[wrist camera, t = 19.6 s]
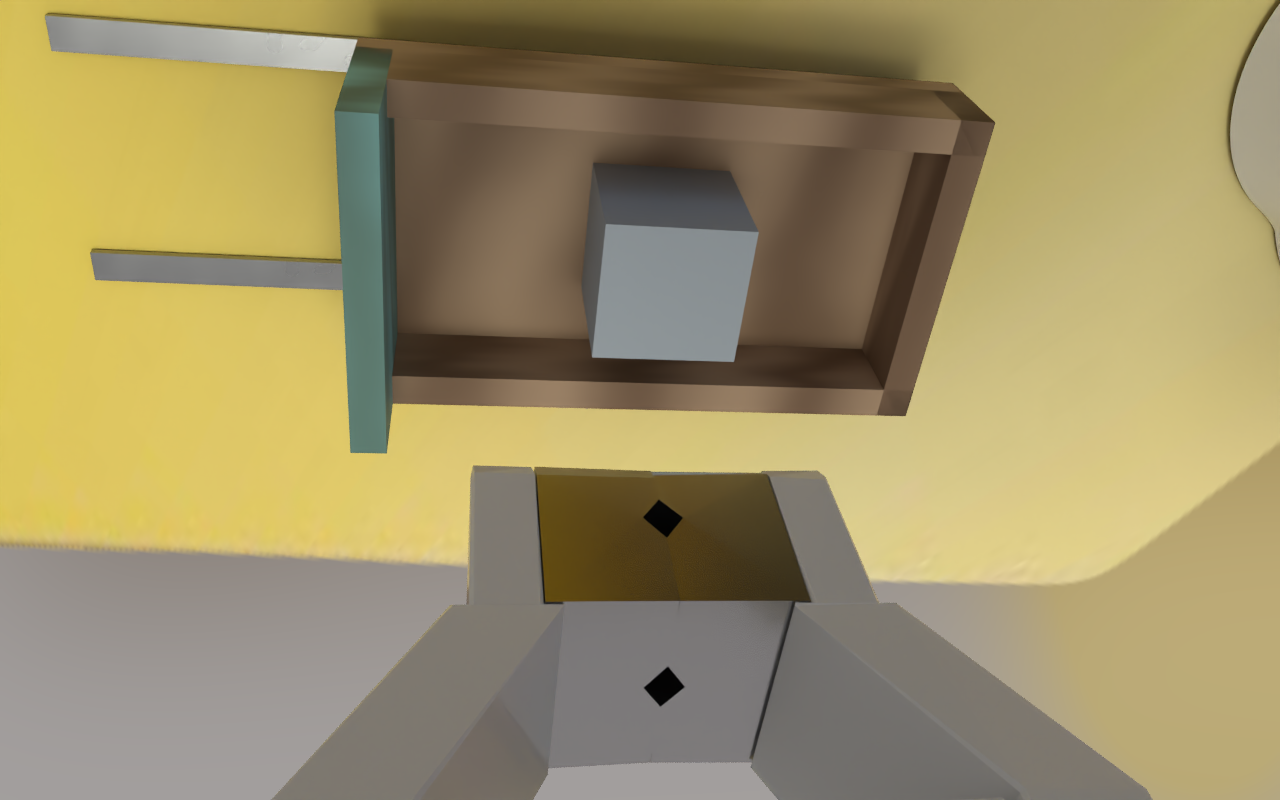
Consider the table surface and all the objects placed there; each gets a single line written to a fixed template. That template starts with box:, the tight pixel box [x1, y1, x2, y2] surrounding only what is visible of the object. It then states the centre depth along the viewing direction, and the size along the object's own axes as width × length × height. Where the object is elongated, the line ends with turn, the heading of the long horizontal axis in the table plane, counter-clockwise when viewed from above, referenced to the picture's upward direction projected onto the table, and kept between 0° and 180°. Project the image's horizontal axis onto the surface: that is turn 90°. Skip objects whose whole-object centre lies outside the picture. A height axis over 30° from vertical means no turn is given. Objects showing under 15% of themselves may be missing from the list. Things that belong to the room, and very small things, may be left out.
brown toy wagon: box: [335, 37, 995, 453], centre depth 39 cm, size 21×12×10 cm, turn 83°
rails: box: [45, 13, 358, 290], centre depth 42 cm, size 31×10×1 cm, turn 83°
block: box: [581, 163, 759, 362], centre depth 38 cm, size 5×5×5 cm
